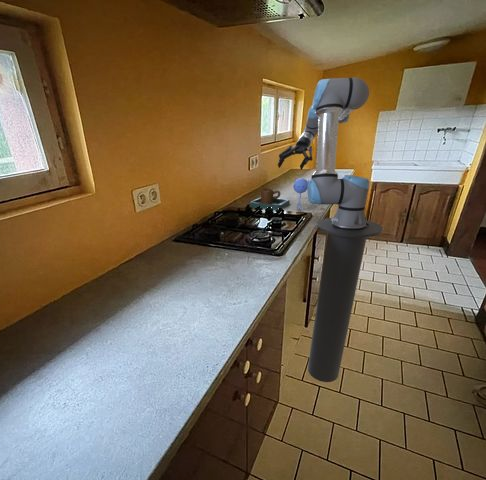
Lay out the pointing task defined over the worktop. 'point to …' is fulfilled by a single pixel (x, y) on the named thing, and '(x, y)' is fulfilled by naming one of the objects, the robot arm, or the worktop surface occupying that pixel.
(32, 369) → the worktop surface
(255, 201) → the tray
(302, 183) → the baby rattle
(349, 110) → the robot arm
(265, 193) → the mug
